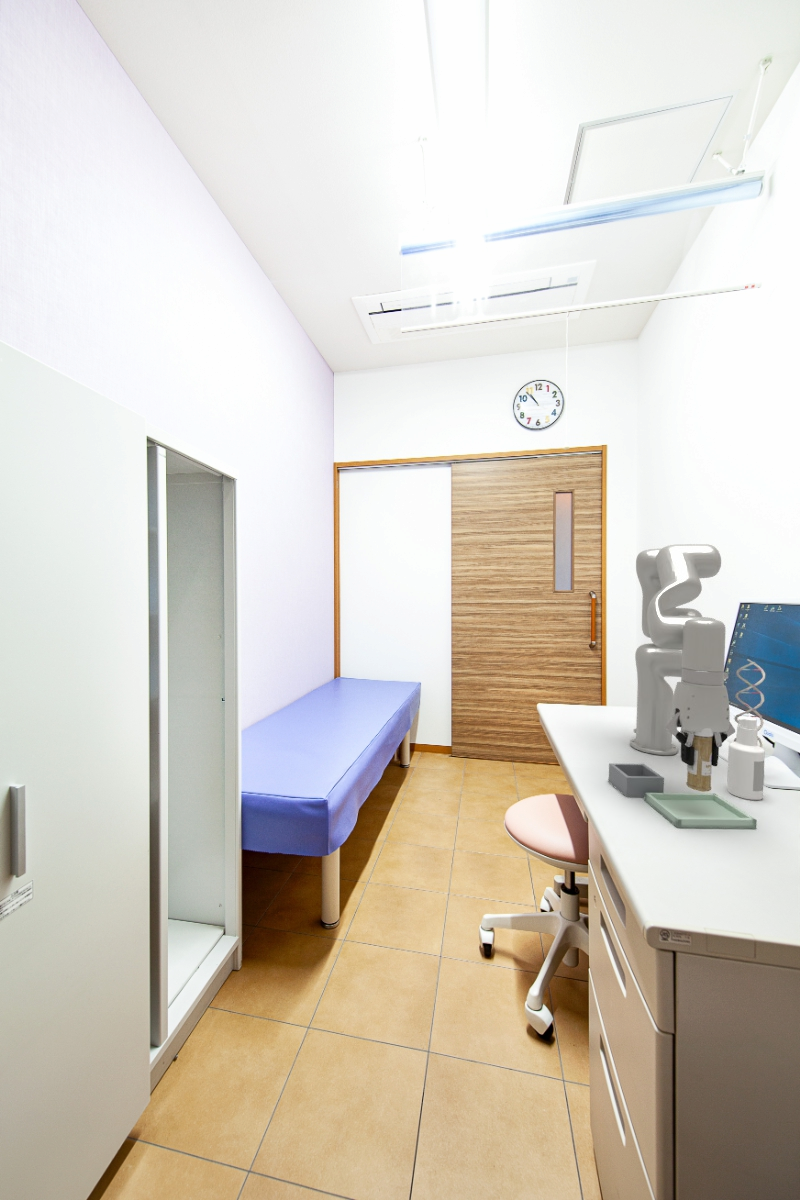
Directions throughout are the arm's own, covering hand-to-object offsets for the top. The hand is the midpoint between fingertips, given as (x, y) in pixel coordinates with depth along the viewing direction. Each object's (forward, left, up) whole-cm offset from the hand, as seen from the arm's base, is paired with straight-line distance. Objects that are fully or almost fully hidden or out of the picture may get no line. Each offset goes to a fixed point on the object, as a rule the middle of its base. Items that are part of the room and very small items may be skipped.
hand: (699, 762), depth 98 cm
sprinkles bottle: (0, 0, -6) cm, 6 cm away
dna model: (-21, +27, -11) cm, 36 cm away
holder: (-12, -7, -11) cm, 18 cm away
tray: (0, 0, -11) cm, 11 cm away
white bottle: (-10, +18, -11) cm, 23 cm away
